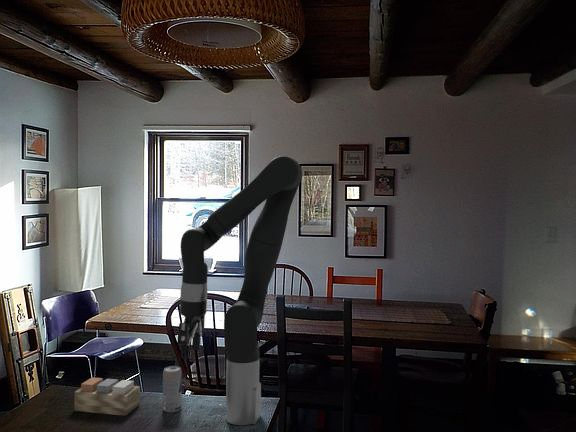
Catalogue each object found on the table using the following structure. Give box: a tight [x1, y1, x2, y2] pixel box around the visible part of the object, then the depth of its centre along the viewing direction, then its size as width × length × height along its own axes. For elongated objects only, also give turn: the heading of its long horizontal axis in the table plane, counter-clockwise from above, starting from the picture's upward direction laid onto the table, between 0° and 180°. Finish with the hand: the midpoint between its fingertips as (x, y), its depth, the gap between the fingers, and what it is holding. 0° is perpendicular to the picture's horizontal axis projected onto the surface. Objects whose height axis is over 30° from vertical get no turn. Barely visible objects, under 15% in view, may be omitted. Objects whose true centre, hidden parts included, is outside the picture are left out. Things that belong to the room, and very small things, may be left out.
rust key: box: [80, 377, 104, 392], centre depth 150 cm, size 4×6×3 cm, turn 169°
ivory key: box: [113, 379, 135, 395], centre depth 148 cm, size 4×6×3 cm, turn 169°
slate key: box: [97, 378, 119, 394], centre depth 149 cm, size 4×6×3 cm, turn 169°
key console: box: [74, 385, 141, 417], centre depth 149 cm, size 16×8×6 cm, turn 79°
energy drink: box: [162, 365, 183, 413], centre depth 148 cm, size 5×5×12 cm
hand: (190, 353), depth 144 cm, fingers open, 8 cm apart
